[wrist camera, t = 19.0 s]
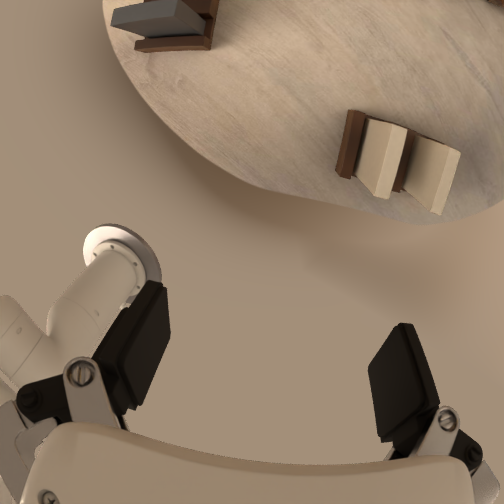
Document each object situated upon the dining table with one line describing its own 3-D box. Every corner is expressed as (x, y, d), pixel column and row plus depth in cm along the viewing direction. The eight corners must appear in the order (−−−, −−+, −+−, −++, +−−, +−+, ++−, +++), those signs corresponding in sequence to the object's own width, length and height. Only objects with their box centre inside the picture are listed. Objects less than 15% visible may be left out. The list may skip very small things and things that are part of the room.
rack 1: (210, 50, 29) (203, 45, 26) (145, 52, 29) (134, 49, 26) (225, -27, 21) (220, -37, 18) (161, -22, 22) (151, -29, 19)
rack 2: (417, 194, 35) (427, 202, 32) (335, 170, 36) (339, 176, 33) (433, 139, 31) (444, 143, 28) (348, 109, 31) (354, 110, 28)
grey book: (203, 36, 27) (174, 15, 18) (150, 39, 27) (109, 26, 18) (206, 21, 26) (178, -3, 17) (153, 25, 26) (113, 8, 17)
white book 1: (364, 175, 34) (388, 200, 26) (353, 172, 34) (373, 196, 26) (377, 121, 30) (407, 129, 22) (365, 118, 30) (392, 123, 22)
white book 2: (423, 138, 30) (461, 152, 21) (409, 188, 34) (441, 215, 26) (413, 134, 30) (449, 146, 22) (399, 185, 34) (429, 212, 26)
